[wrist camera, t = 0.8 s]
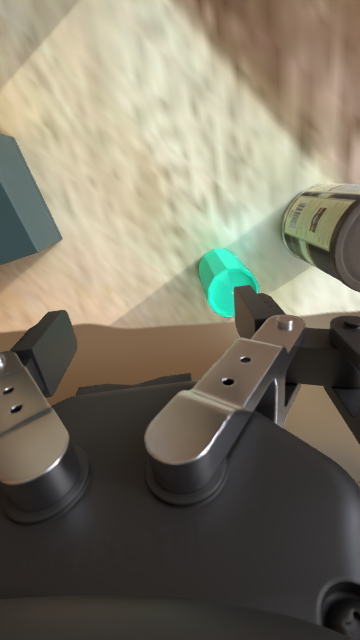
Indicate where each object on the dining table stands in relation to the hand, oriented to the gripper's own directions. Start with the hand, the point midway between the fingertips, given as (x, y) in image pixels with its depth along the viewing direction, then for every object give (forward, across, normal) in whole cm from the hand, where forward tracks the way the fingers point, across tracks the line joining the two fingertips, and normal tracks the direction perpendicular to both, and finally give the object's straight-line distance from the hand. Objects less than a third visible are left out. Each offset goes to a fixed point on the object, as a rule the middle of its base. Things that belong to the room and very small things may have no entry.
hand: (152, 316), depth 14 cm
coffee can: (+29, -21, +3) cm, 36 cm away
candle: (+28, -7, +7) cm, 30 cm away
